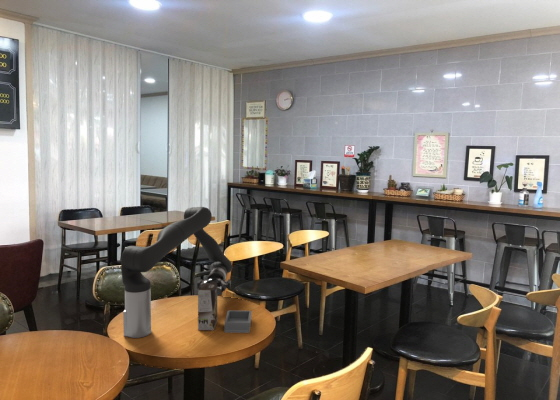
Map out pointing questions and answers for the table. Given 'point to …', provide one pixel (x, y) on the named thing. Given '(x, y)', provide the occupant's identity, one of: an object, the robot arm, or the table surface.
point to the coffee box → (207, 306)
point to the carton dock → (237, 321)
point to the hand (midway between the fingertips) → (212, 289)
